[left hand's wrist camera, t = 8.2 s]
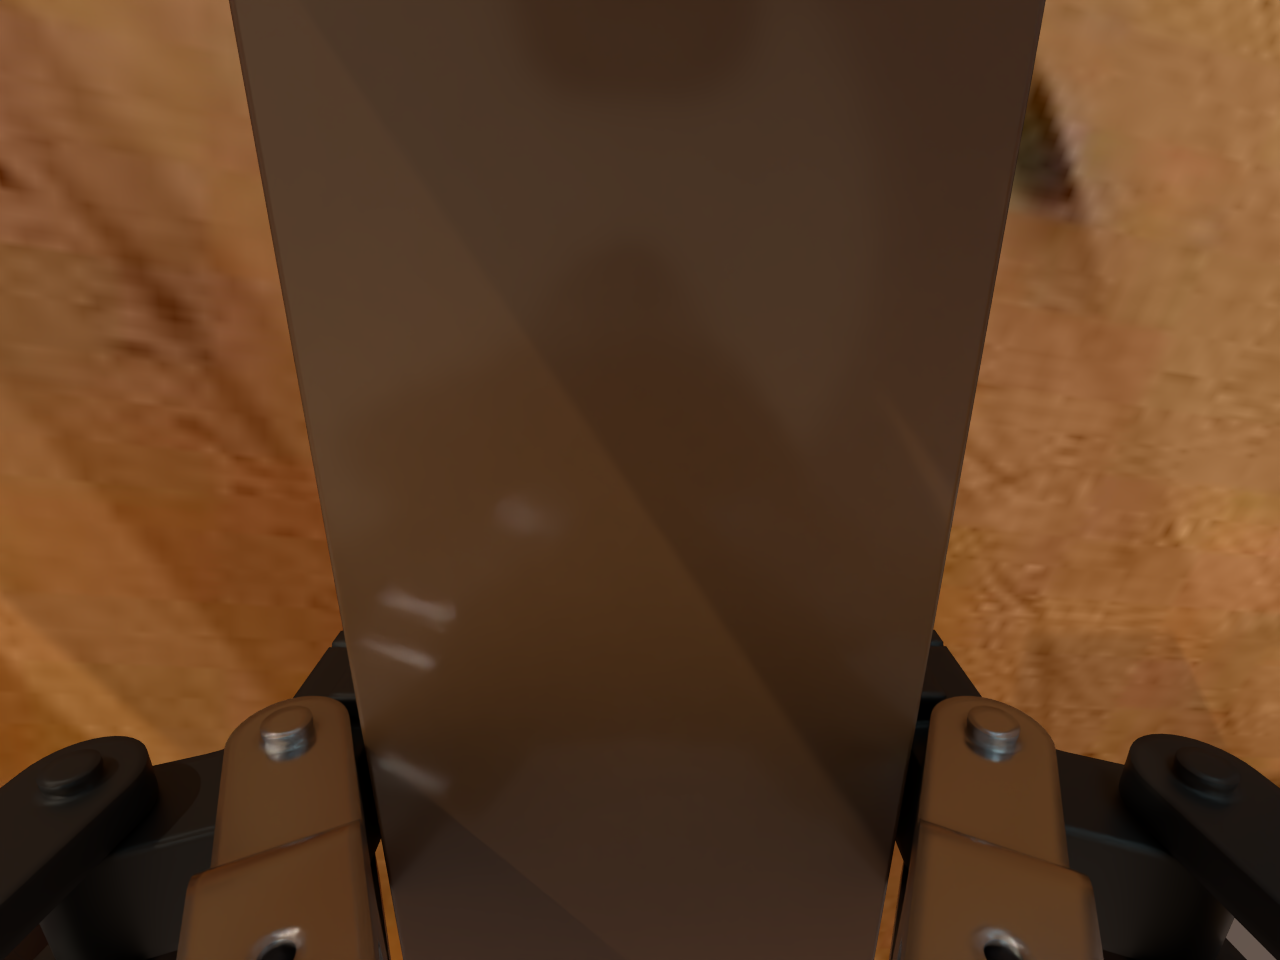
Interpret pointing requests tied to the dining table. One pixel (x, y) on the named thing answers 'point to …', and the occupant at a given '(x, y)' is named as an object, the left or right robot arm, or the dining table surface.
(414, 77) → the box
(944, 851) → the left robot arm
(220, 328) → the dining table surface
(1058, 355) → the dining table surface
